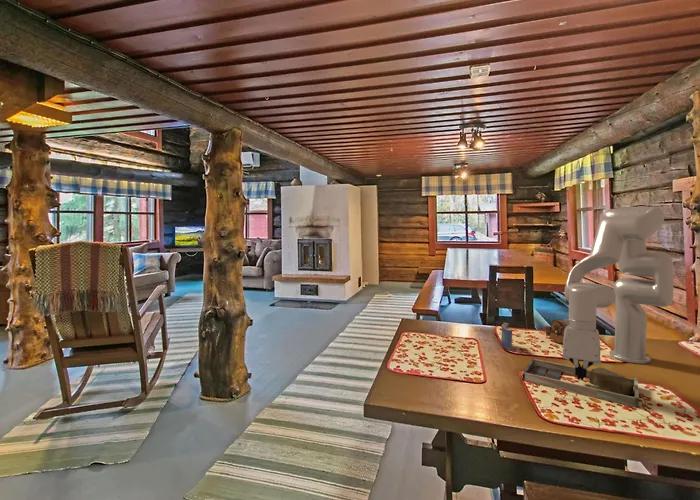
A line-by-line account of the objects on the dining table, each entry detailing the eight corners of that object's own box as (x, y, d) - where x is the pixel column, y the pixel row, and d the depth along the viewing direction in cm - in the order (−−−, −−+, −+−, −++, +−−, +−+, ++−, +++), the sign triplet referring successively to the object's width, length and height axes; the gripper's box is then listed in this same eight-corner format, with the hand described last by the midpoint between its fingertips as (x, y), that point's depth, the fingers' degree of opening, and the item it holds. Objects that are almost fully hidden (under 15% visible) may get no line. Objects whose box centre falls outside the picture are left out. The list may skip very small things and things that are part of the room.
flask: (512, 350, 146) (513, 325, 145) (505, 350, 147) (505, 325, 146) (506, 343, 155) (506, 320, 155) (499, 343, 156) (499, 320, 155)
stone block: (600, 380, 118) (601, 366, 117) (635, 396, 107) (636, 380, 106) (587, 382, 116) (587, 367, 116) (621, 398, 105) (621, 382, 105)
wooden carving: (540, 337, 164) (540, 316, 163) (549, 336, 164) (549, 315, 164) (568, 349, 147) (569, 326, 147) (577, 348, 148) (578, 325, 148)
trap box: (532, 364, 131) (532, 357, 131) (637, 387, 112) (637, 378, 112) (522, 379, 118) (522, 371, 118) (638, 407, 99) (638, 397, 99)
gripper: (553, 323, 115) (553, 376, 117) (609, 331, 106) (608, 389, 107) (557, 318, 121) (556, 369, 122) (610, 325, 112) (609, 380, 113)
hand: (580, 378), depth 115 cm, fingers closed
